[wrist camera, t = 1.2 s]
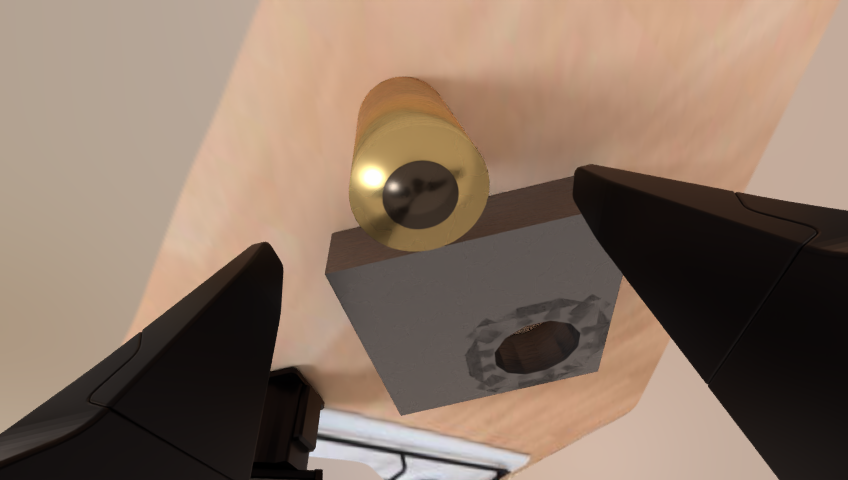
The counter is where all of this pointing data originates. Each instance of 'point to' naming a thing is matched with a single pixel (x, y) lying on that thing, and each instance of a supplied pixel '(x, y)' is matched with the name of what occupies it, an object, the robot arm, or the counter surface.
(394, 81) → the bushing
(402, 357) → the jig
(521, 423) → the counter surface
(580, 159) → the counter surface
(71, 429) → the robot arm
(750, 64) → the counter surface
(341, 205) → the counter surface
